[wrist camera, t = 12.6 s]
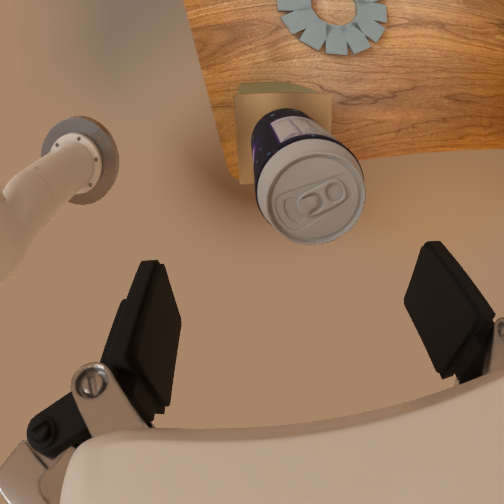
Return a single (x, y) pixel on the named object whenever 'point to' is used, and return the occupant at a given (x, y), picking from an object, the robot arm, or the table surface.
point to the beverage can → (305, 178)
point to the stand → (269, 99)
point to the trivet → (335, 26)
